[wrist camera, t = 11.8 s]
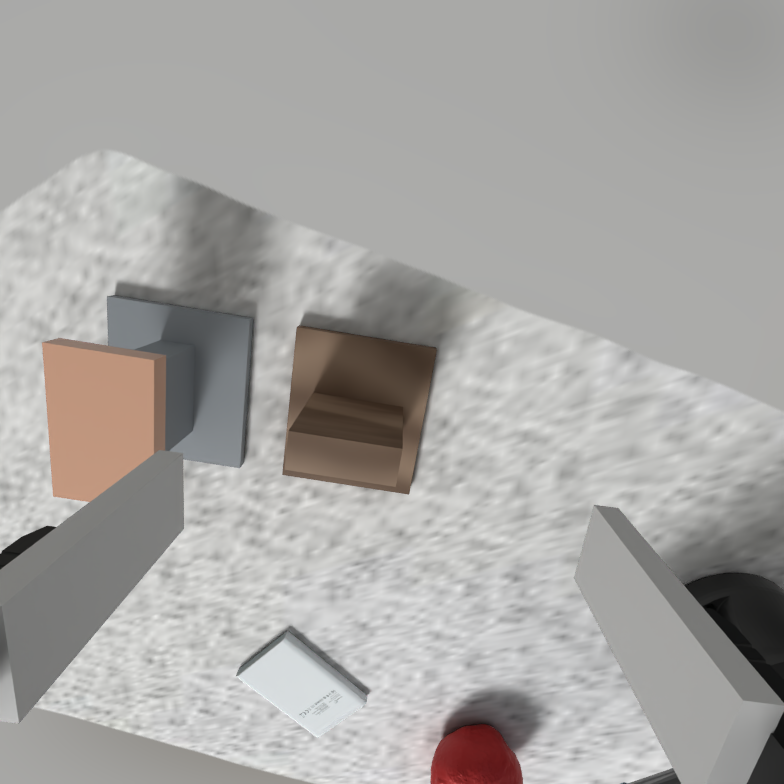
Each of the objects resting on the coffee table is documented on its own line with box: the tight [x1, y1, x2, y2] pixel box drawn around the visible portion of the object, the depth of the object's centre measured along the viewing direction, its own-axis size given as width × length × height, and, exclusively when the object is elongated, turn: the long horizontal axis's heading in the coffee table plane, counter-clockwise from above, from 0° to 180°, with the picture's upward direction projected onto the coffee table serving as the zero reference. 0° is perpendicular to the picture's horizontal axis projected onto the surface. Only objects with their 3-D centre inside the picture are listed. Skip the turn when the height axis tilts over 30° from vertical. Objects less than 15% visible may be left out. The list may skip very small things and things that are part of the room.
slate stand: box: [107, 295, 253, 468], centre depth 36 cm, size 14×12×10 cm
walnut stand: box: [282, 325, 437, 494], centre depth 36 cm, size 14×12×10 cm
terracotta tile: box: [42, 338, 166, 502], centre depth 31 cm, size 7×11×2 cm, turn 171°
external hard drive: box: [236, 631, 367, 738], centre depth 51 cm, size 2×8×12 cm
